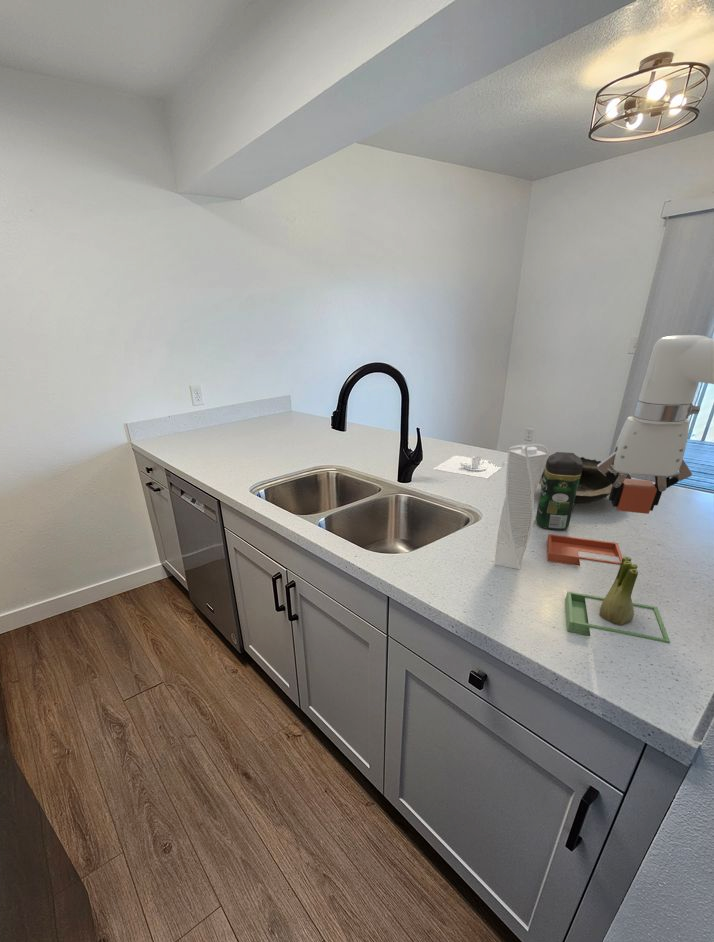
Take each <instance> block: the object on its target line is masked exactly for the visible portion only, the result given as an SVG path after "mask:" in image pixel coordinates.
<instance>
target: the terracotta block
mask: <svg viewBox="0 0 714 942" xmlns="http://www.w3.org/2000/svg"><path fill="white" fill-rule="evenodd" d="M654 484H655V483H654V482H653V481H652V480H650V479H649V480H647V479H637V478H631V479H625V480H624V481H623V483H622V488H623V490H622V493H621V497H620V500H619V503H618V506H617V507H616V509H617V510H616V511H618V512H627V513H637V514H644V515H645V514H646V515H649V514H650V512H651V511H650V509H651V506H652V503H653V500H654V497H655V494H656V491H657V488H656V487H655V485H654Z"/></svg>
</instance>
